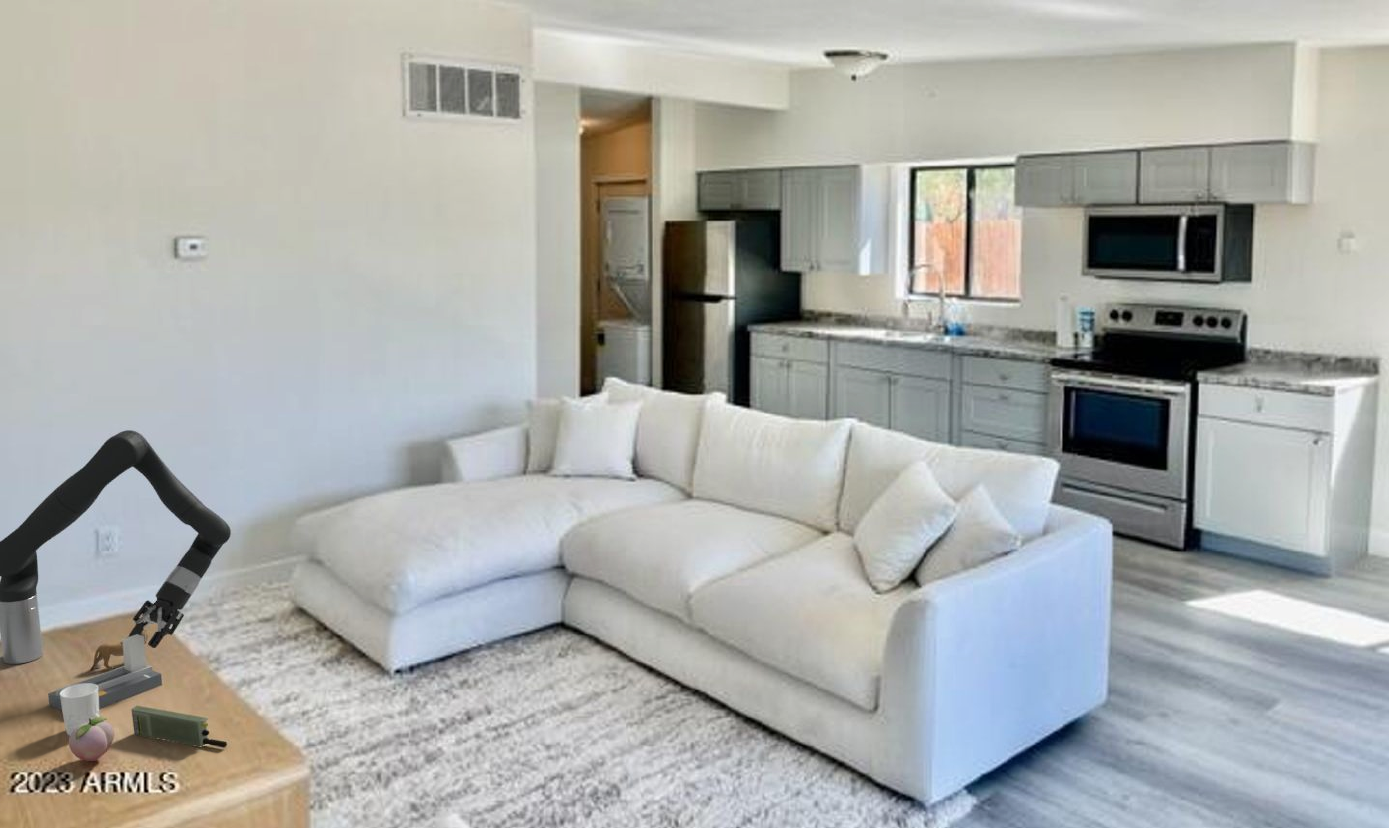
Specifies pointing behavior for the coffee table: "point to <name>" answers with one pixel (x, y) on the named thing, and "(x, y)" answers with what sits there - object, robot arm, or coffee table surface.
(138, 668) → the fader knob
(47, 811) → the coffee table surface
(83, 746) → the decorative fruit
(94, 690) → the white cup
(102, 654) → the lion figurine
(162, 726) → the handheld radio
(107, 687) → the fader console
